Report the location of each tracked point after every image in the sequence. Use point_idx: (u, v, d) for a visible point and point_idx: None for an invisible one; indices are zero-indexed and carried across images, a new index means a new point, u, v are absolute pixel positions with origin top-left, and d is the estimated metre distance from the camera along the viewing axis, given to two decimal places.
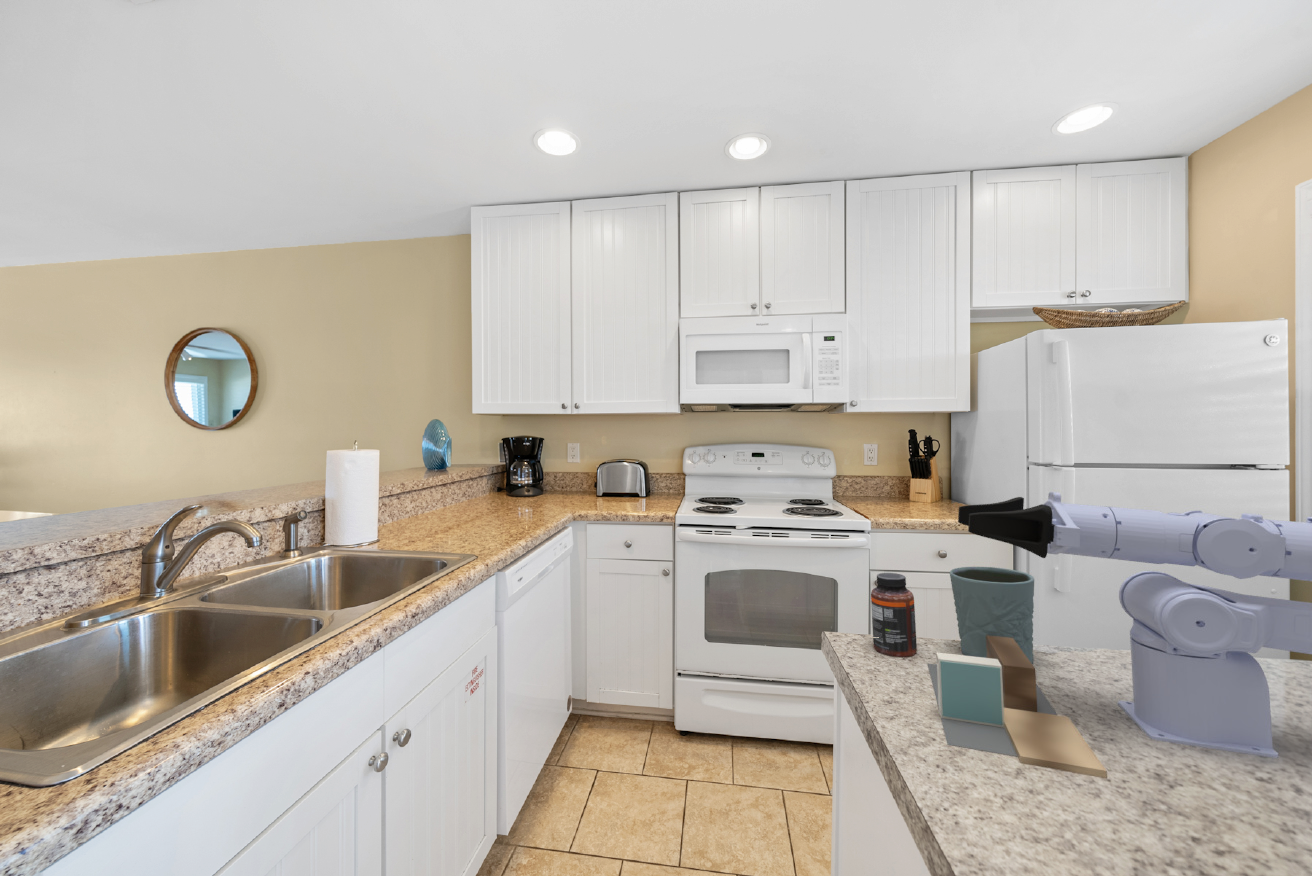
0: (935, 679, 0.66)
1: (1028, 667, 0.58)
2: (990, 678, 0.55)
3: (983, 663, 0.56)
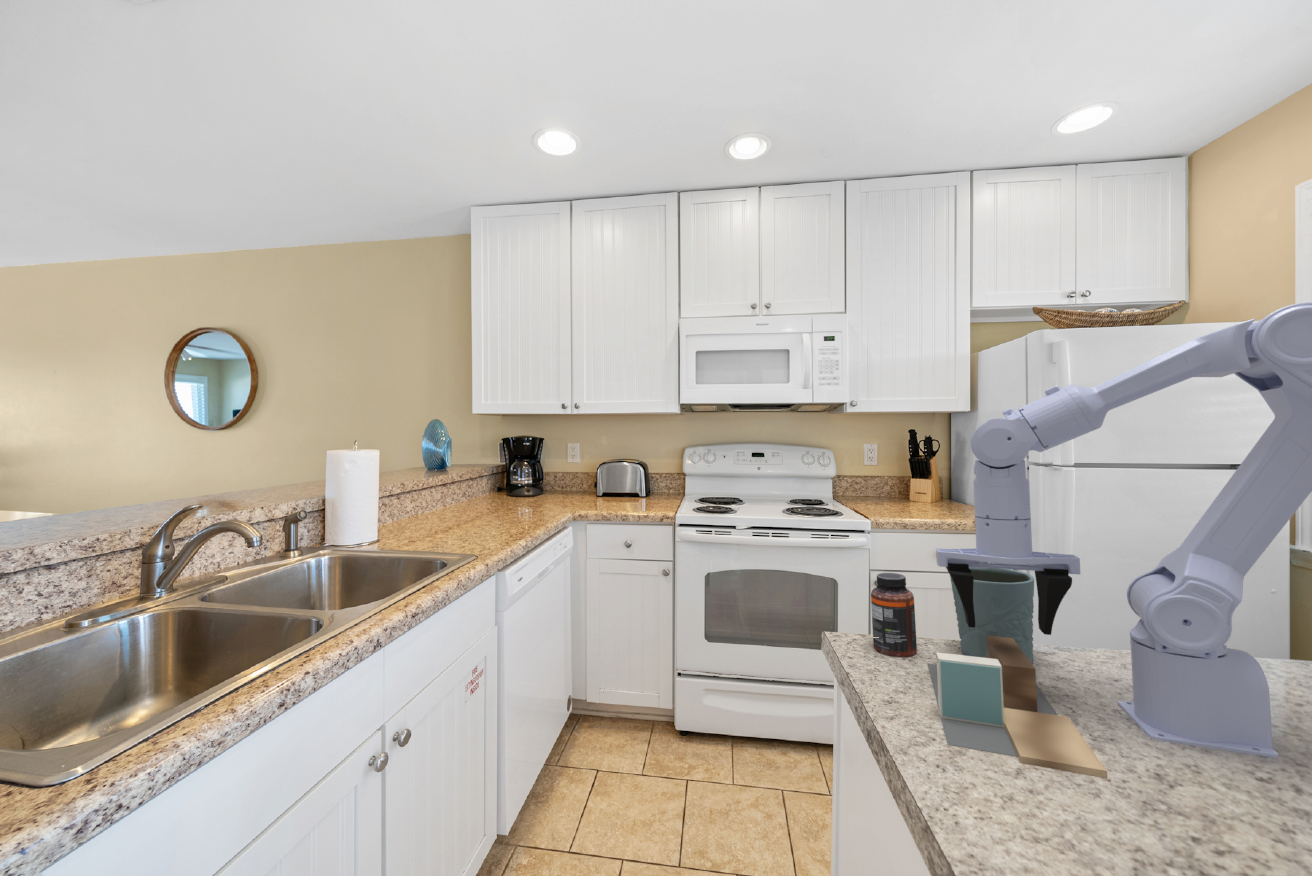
0: (935, 679, 0.66)
1: (1028, 667, 0.58)
2: (990, 678, 0.55)
3: (983, 663, 0.56)
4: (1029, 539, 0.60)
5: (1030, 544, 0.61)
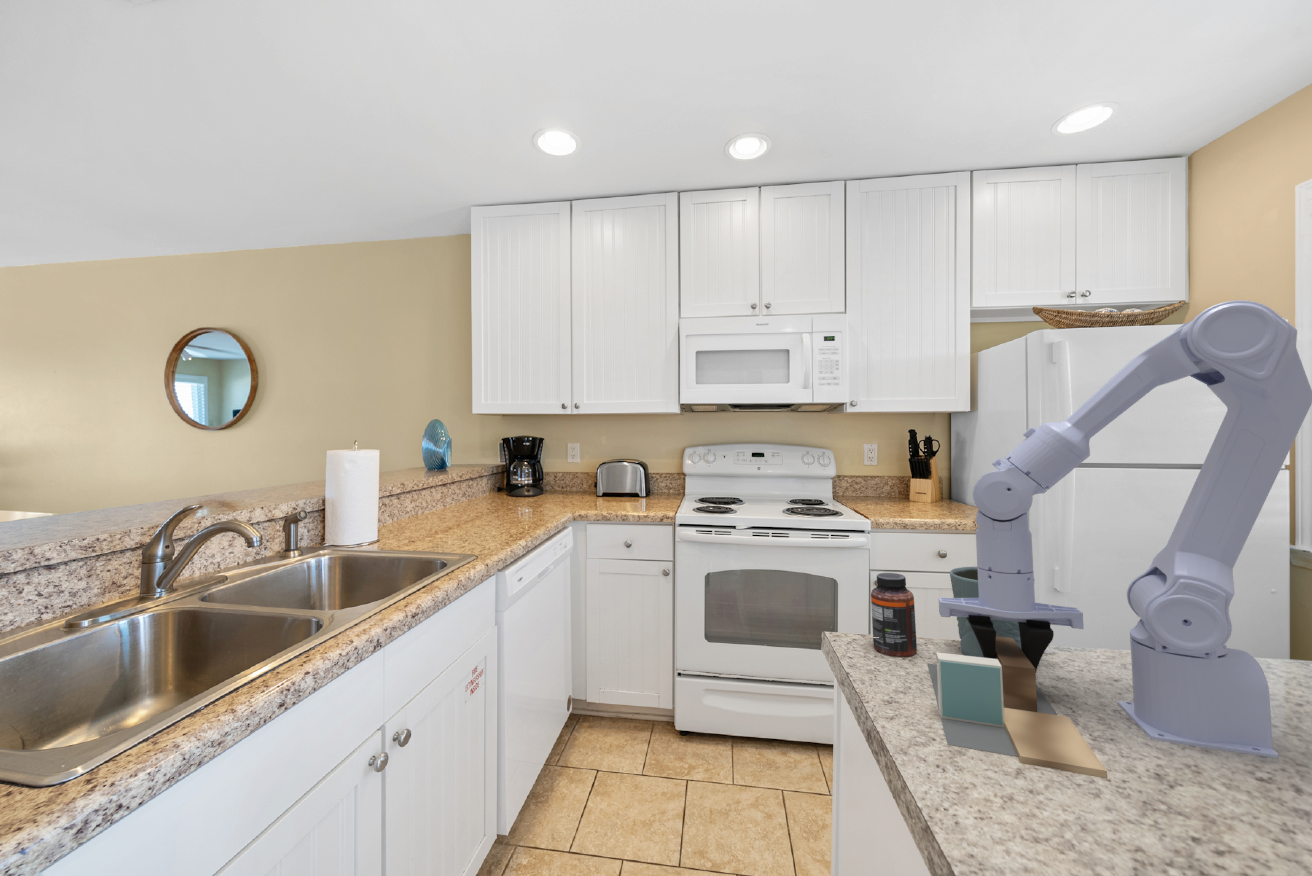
0: (935, 679, 0.66)
1: (1028, 667, 0.58)
2: (990, 678, 0.55)
3: (983, 663, 0.56)
4: (1032, 592, 0.60)
5: (1033, 597, 0.60)
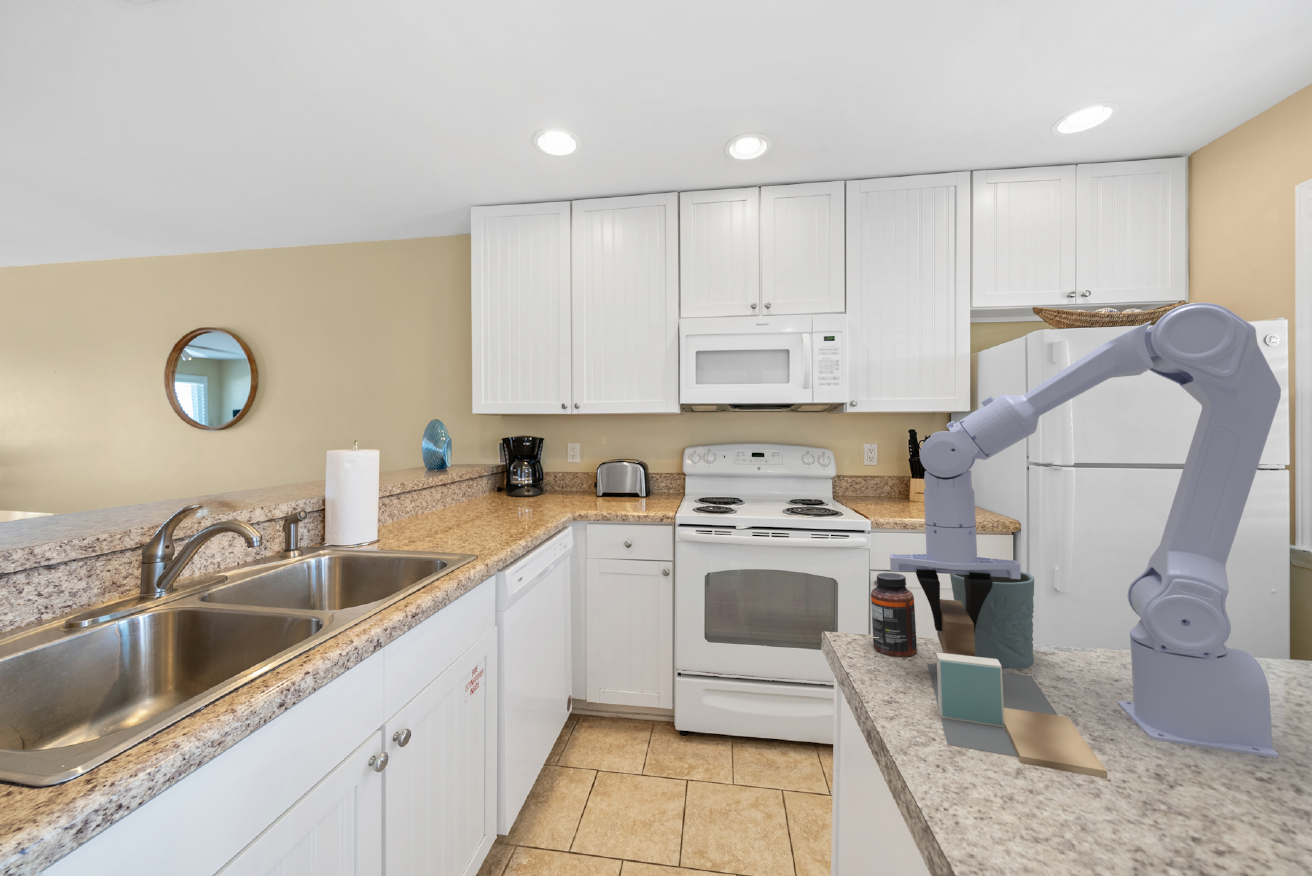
0: (935, 679, 0.66)
1: (968, 623, 0.61)
2: (990, 678, 0.55)
3: (983, 663, 0.56)
4: (973, 546, 0.64)
5: (974, 550, 0.64)
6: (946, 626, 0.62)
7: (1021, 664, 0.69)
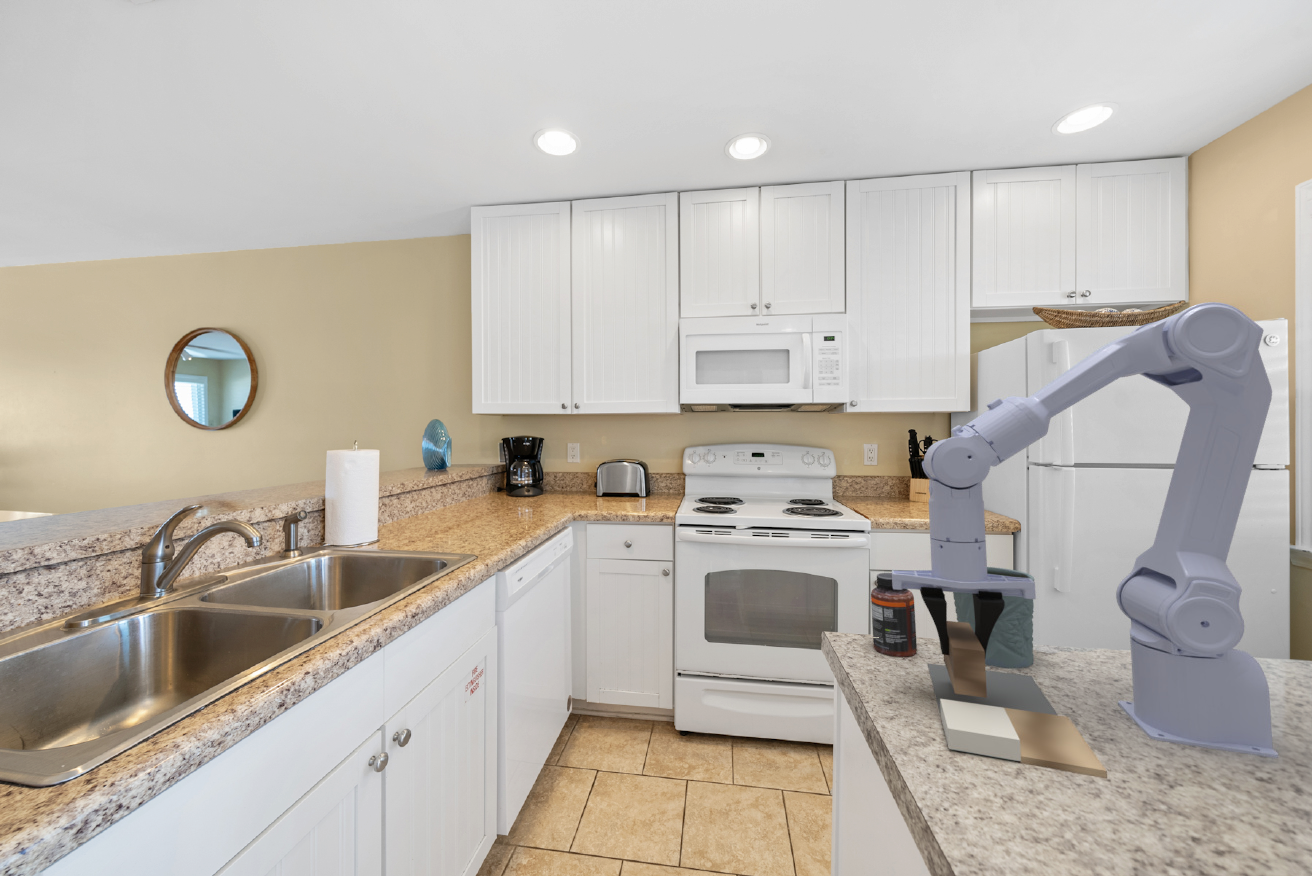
0: (935, 679, 0.66)
1: (978, 649, 0.56)
2: None
3: (1000, 755, 0.49)
4: (983, 562, 0.58)
5: (984, 567, 0.59)
6: (954, 652, 0.57)
7: (1021, 664, 0.69)
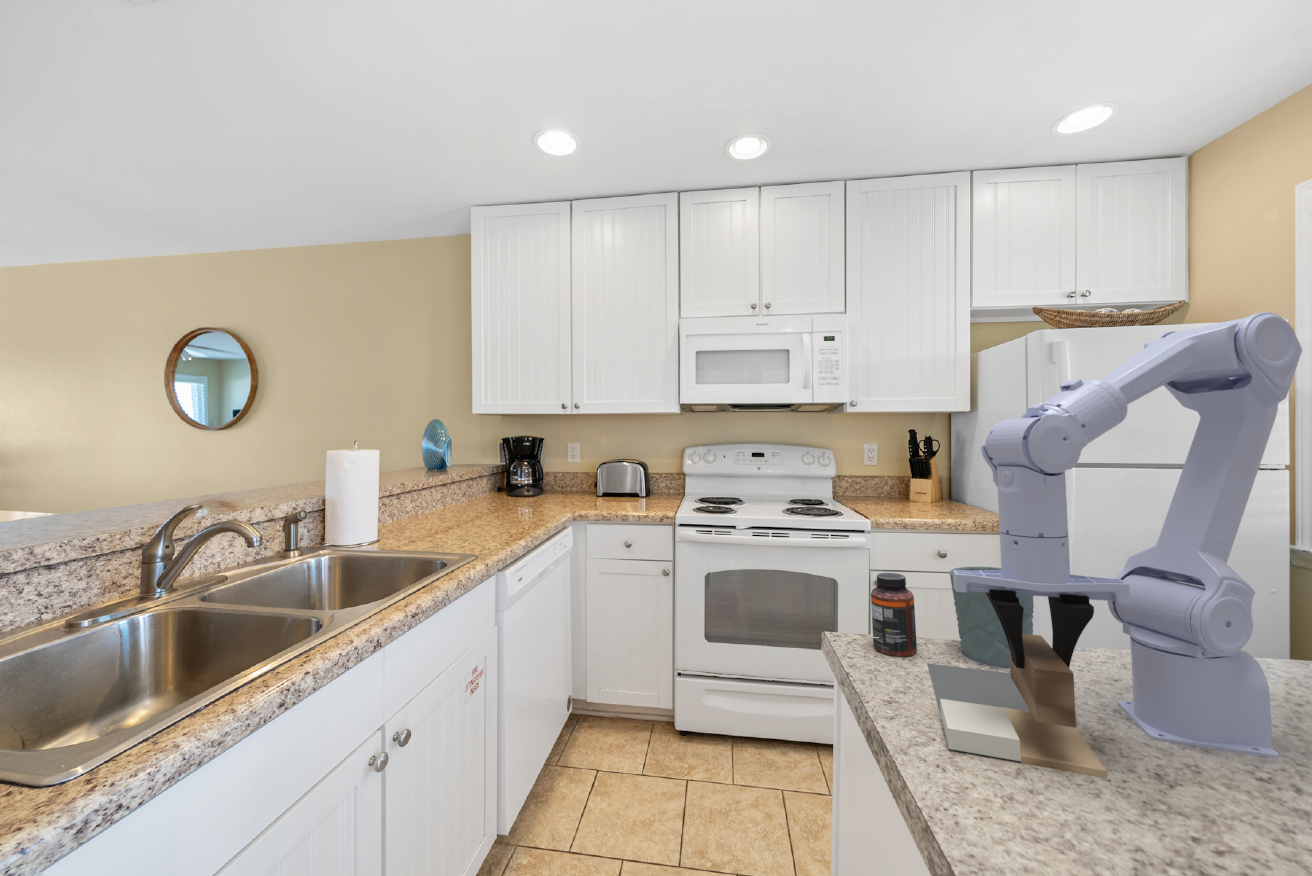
0: (935, 679, 0.66)
1: (1065, 671, 0.48)
2: None
3: (1000, 755, 0.49)
4: (1067, 561, 0.50)
5: (1068, 567, 0.50)
6: (1036, 674, 0.48)
7: None
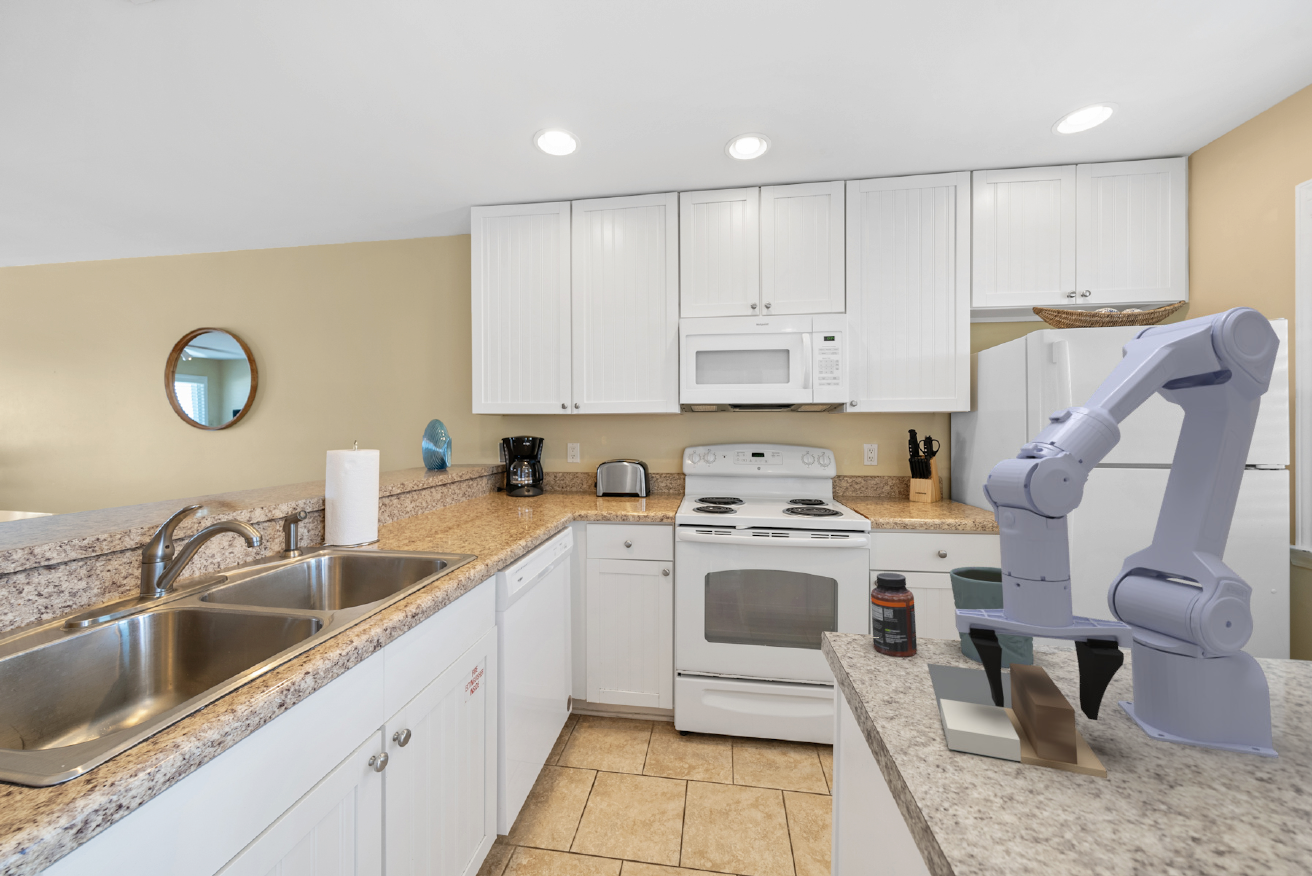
0: (935, 679, 0.66)
1: (1066, 707, 0.48)
2: None
3: (1000, 755, 0.49)
4: (1069, 604, 0.50)
5: (1070, 610, 0.50)
6: (1037, 710, 0.48)
7: None
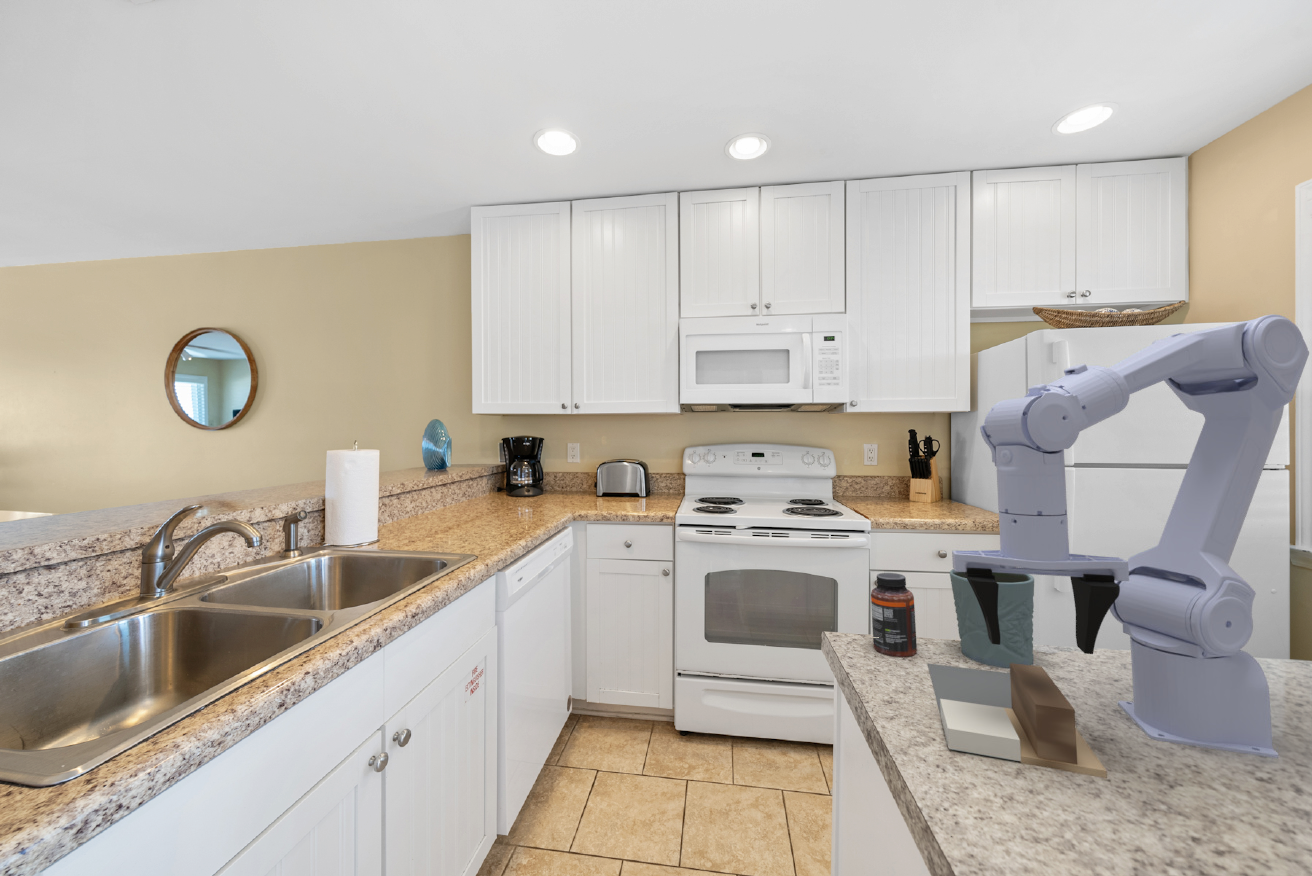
0: (935, 679, 0.66)
1: (1066, 707, 0.48)
2: None
3: (1000, 755, 0.49)
4: (1066, 539, 0.50)
5: (1067, 545, 0.50)
6: (1037, 710, 0.48)
7: None
